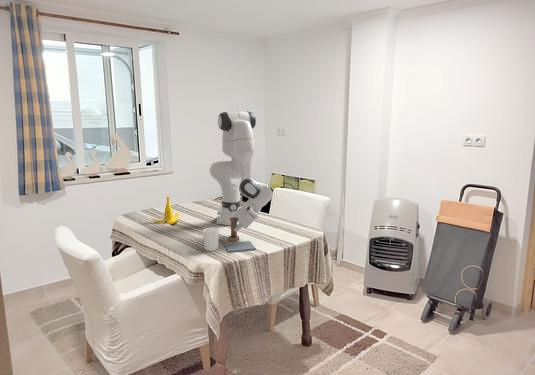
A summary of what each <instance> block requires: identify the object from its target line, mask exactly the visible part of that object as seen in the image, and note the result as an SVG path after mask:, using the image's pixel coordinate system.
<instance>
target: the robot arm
mask: <svg viewBox="0 0 535 375" xmlns="http://www.w3.org/2000/svg"><path fill="white" fill-rule="evenodd" d="M256 123H257V118H256V115H255V113H254V112H251V111H241V110H236V111H224V112H220V113H219V115H218V116H217V126H218V128H219V129H220V130H221V131H222V141H221V142H222V144H221V146H222V148H221V149H222V153H223V154H224V155H226V156H228V157H230V158H231V160H224V161H222V160H221V161H216V162H213V163H211V165H210V167H209V173H210V176H211V177H212V178H213V180H216V181H217V183H218V184H219V186H220V188H221V197H222V200H221V207H220V209H219V210H218V211H217V216H216V225H223V226H231V221H230V218H232V217H236V218H238V220H237V227H235V228H234V230H235V231H236V232H237V233H238V231H239V230H240V229H242V228H244V229H247V228H248V227H249V226H250V225H251V224H252V223H253V222H255V220H256V219H258V218H259V212H260V211H261V210H262V208H263V207H264V206H266V205H267V204H268V203H269V202H270V200H271V199H272V197H273V195H274V192H273V190H272V188H271V186H269V185H268V184H267V183H263V182H259V181H256V180H254V177H253V169H252V160H253V156H254V152H255V138H254V132H253V129H254V128H255V127H256V125H257V124H256ZM232 179H241V180H240V183H239V186H238V185H236V184H235V183H232V182H231V180H232ZM241 196H243V197H244V198H248V199H247V201H246V202H244V203H243V205H242V200H241Z"/></svg>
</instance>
